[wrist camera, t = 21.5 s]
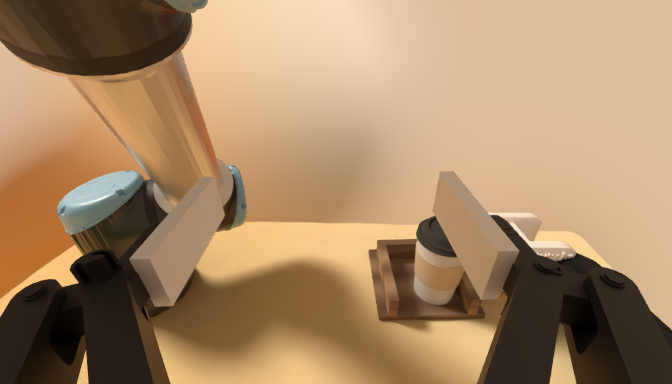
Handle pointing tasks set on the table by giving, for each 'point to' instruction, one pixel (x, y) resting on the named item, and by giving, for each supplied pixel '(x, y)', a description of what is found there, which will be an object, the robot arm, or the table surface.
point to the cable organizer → (528, 230)
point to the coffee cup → (435, 264)
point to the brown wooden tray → (398, 287)
